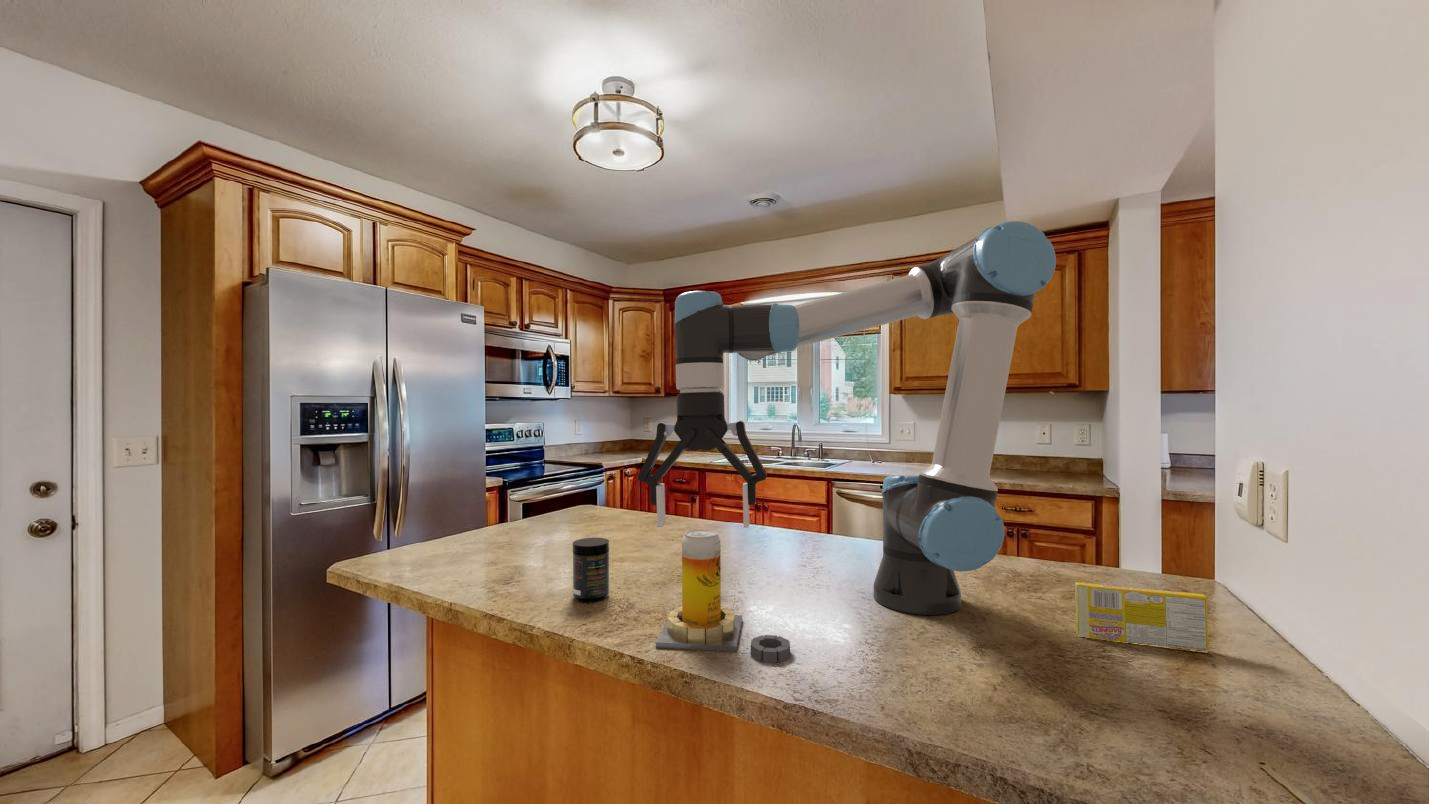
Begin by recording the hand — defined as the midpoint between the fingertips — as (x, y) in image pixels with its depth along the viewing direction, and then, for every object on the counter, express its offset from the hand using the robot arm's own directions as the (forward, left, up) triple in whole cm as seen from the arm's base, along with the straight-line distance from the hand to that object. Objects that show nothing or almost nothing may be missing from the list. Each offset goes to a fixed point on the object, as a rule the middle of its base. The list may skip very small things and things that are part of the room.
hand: (703, 525), depth 89 cm
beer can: (0, 0, -16) cm, 16 cm away
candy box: (-66, -4, -17) cm, 68 cm away
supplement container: (+23, -14, -17) cm, 32 cm away
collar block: (0, 0, -17) cm, 17 cm away
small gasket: (-11, +6, -17) cm, 21 cm away
